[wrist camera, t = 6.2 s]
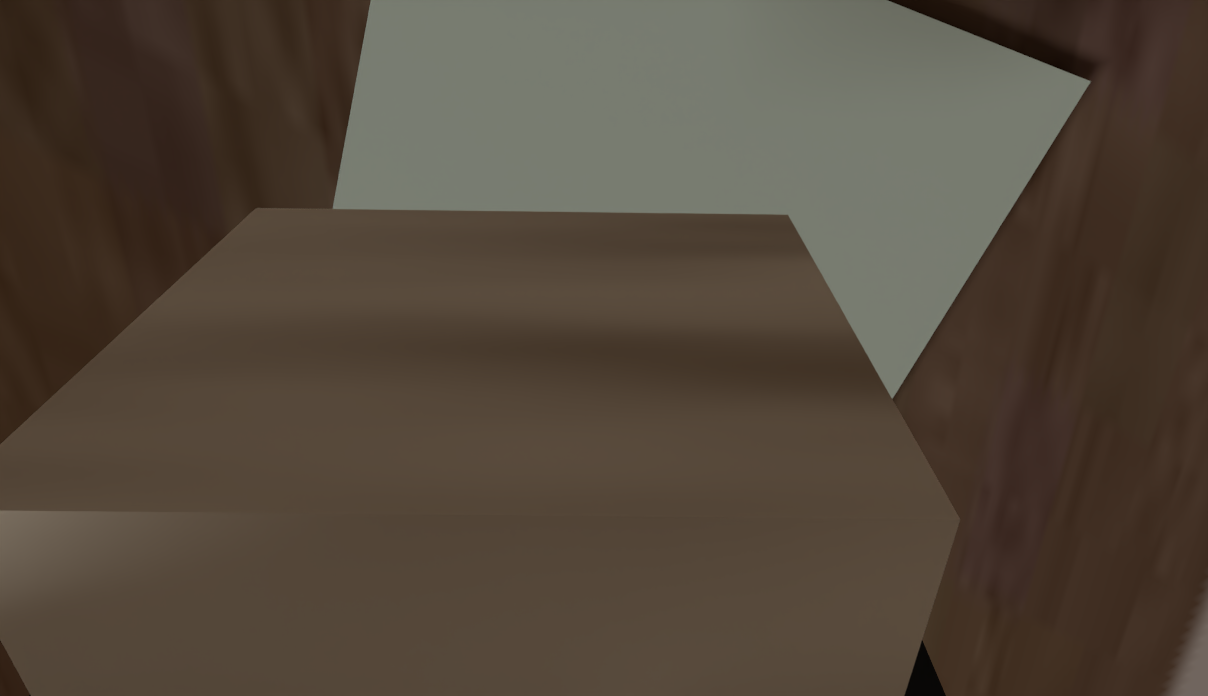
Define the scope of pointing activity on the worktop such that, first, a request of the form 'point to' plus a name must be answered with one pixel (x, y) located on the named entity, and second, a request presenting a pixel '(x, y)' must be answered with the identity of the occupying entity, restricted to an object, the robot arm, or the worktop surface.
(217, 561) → the card box
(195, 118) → the worktop surface
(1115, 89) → the worktop surface
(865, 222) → the card mat
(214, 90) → the worktop surface
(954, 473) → the worktop surface
